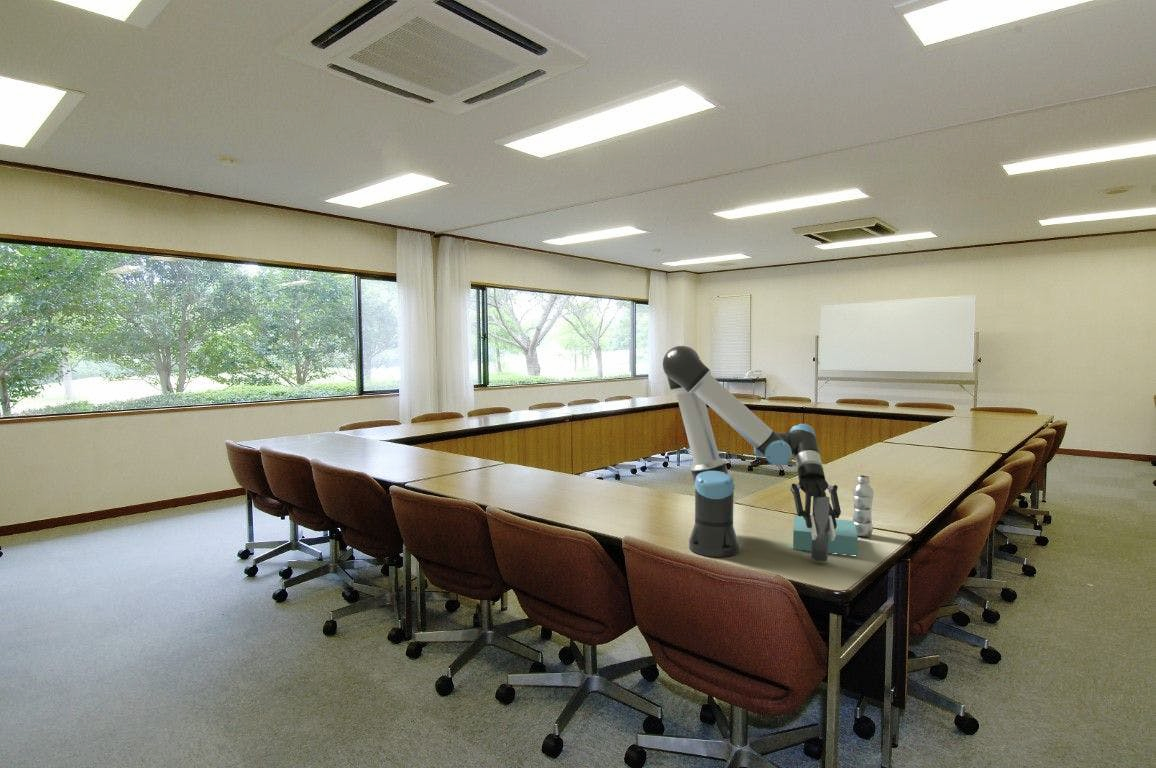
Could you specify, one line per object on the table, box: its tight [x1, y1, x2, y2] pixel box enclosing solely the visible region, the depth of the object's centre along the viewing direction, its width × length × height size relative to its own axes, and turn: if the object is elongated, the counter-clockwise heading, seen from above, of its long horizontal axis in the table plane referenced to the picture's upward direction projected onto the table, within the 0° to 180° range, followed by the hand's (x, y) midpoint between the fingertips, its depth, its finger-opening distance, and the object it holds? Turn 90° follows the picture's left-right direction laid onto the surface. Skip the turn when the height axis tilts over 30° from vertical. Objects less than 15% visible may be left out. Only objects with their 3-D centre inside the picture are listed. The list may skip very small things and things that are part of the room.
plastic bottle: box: [852, 474, 875, 537], centre depth 191 cm, size 6×7×20 cm
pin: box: [810, 495, 831, 562], centre depth 166 cm, size 4×4×18 cm
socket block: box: [792, 514, 858, 557], centre depth 183 cm, size 18×18×6 cm
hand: (824, 538), depth 162 cm, fingers closed on pin, 4 cm apart
